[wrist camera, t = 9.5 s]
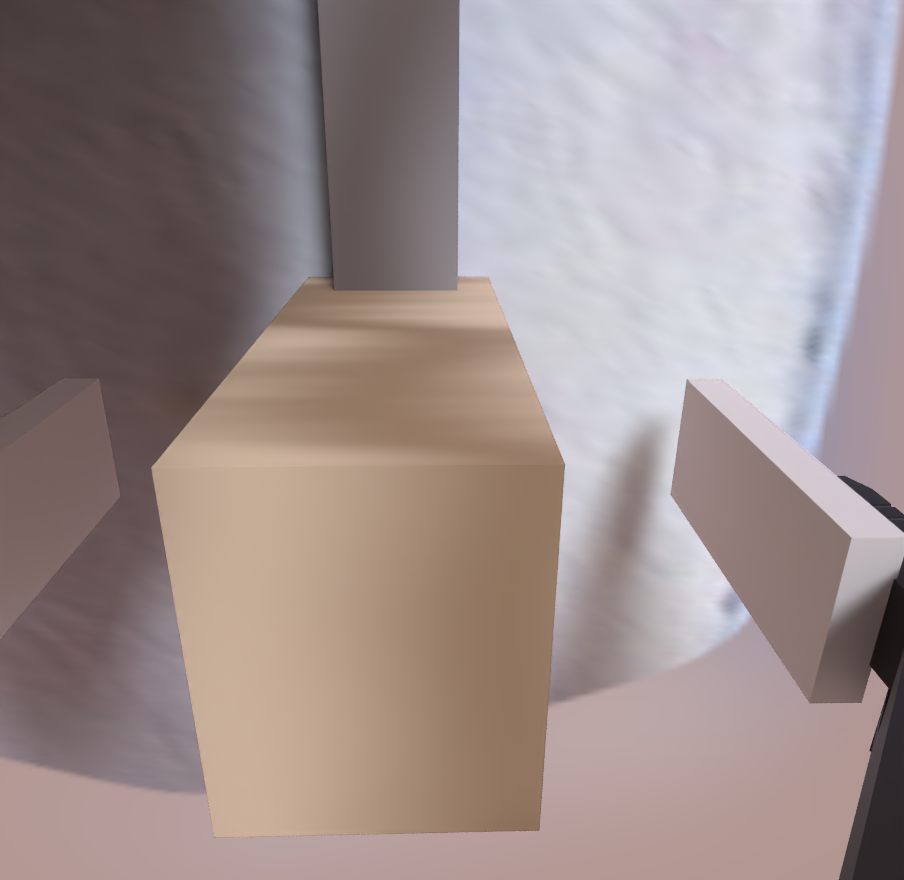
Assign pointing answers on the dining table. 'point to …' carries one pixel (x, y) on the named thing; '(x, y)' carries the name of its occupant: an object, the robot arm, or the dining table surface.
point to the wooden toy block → (372, 497)
